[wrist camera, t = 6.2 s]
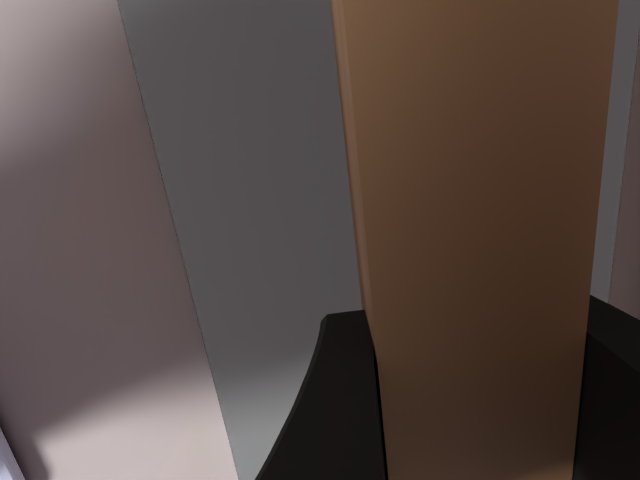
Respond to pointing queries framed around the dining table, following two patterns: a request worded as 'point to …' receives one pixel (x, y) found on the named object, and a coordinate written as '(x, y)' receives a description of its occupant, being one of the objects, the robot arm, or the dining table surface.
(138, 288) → the dining table surface
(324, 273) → the grey mat
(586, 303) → the walnut bar
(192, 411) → the dining table surface
